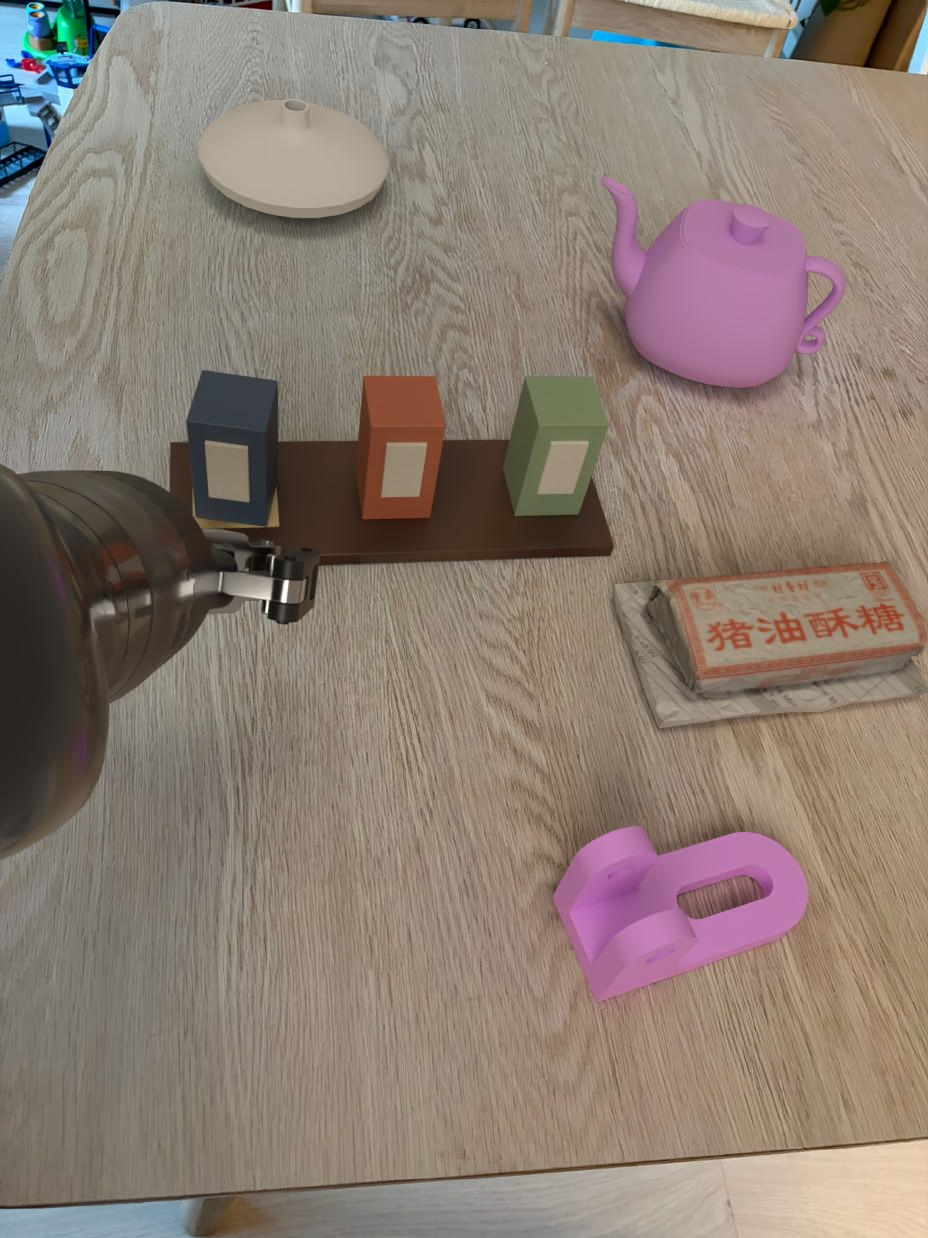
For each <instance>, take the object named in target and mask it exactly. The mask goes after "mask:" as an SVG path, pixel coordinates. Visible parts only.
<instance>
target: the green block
mask: <svg viewBox="0 0 928 1238" xmlns="http://www.w3.org/2000/svg"><path fill="white" fill-rule="evenodd" d="M521 387H522V388H521V391H520V395H519V399H518V402H517V408H516V412H515V417H514V420H513V424H512V428H511V433H510V437H509V440H510V441H509V445H508V449H507V453H506V458H505V462H504V466H503V470H504V474H505V478H506V482H507V486H508V490H509V494H510V498H511V502H512V506H513V510H514V514H515V516H535V515H577V514H579V512H580V509H581V506H582V503H583V500H584V497H585V494H586V491H587V488H588V485H589V482H590V480H591V477H592V478H593V474H594V470H595V468H596V465H597V462H598V459H599V456H600V452H601V450H602V448H603V447H602V446H603V444H604V441H605V438H606V435H607V433H608V429H609V426H610V424H609V421H608V418H607V415H606V412H605V409H604V406H603V404H602V403H603V402H602V400H601V397H600V395H599V392H598V389H597V386H596V383H595V380H594V378H593V376H559V375H558V376H555V375H554V376H553V375H551V376H550V375H549V376H547V375H546V376H545V375H544V376H541V375H537V376H535V375H534V376H533V375H532V376H531V375H526V376H525V375H524V379H523V383H522V386H521Z"/></svg>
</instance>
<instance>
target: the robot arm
mask: <svg viewBox="0 0 928 1238" xmlns="http://www.w3.org/2000/svg"><path fill="white" fill-rule="evenodd" d="M208 544H213V546H214V549H213V548H210V547H209V545H208ZM312 550H313V548H310V547H301V549H292V550H290V551H288V552H287V551H284V550H281V546H280V545H275V540H268V539H258V540H256V541H255V542H249V539H248V537H247V536H246V535H245V534H243V533H238V532H233V531H228V530H223V529H206V528H200V526H199V524H198V523H197V521H196V520H195V518H194V517H193V515H192V514H191V513H190V511H189V510H188V509H187V508H186V507H185V506H184V505H183V504H182V503H181V502H180V501H179V500H178V499H177V498H176V497H175V496H174V495H172V494H171V493H170V491H169V490H168V489H166V488H164V487H163V486H161V485H159V484H158V483H155V482H154V481H151V480H150V479H147V478H144V477H142V476H139V475H136V474H132V473H128V472H123V471H117V470H116V471H115V470H36V471H35V470H34V471H27V472H23V473H17V472H15V471H14V469H11V468H10V467H8V466H6V465H4V464H2V463H0V862H2V861H3V860H6V859H8V858H10V857H12V856H14V855H16V854H19V853H20V852H22V851H24V850H26V849H28V848H29V847H31V846H33V845H35V844H37V843H39V842H40V841H42V840H44V839H45V838H47V837H49V836H50V835H51V834H53V833H55V832H56V831H57V830H58V829H60V828H61V827H62V826H63V825H65V824H66V823H68V822H69V821H70V820H71V819H73V818H74V816H75V815H76V814H77V813H78V812H80V810H81V809H82V808H83V807H84V806H85V805H86V803H87V802H88V801H89V799H90V797H91V796H92V794H93V792H94V790H95V789H96V786H97V784H98V782H99V780H100V778H101V774H102V770H103V768H104V767H103V766H104V763H105V757H106V752H107V751H106V750H107V743H108V736H109V730H110V704H113V703H115V702H116V701H118V700H120V699H122V698H123V697H125V696H126V695H128V694H129V693H130V692H132V691H133V690H135V689H136V688H138V687H139V686H140V685H141V684H143V683H144V682H145V681H146V680H148V678H150V677H151V676H153V674H154V673H156V672H157V671H158V670H159V669H160V668H162V667H163V666H164V665H165V664H166V663H167V662H169V661H170V659H171V658H173V657H174V656H175V655H176V654H178V653H179V652H180V651H181V650H182V649H183V648H184V647H185V646H186V645H187V644H189V642H190V641H191V640H192V639H193V637H194V636H195V634H197V632H198V630H199V629H200V628H201V626H202V624H203V622H204V621H205V619H206V617H207V616H208V615H216V614H217V615H218V614H220V615H221V614H235V613H237V612H238V611H240V609H241V608H242V606H243V604H244V603H246V602H258V603H261V608H260V613H261V614H263V615H266V616H267V619H268V620H269V621H274V622H275V623H276V624H277V625H284V626H285V625H287V626H288V625H289V624H290V623H291V624H292V623H298V622H299V621H300V620H302V619H303V618H304V617H305V616H306V615H307V614H308V613H309V612H310V611H311V610H312V609H313V608H315V601H316V594H317V593H316V592H317V585H318V577H319V569H320V565H319V561H320V552H317V551H312ZM249 557H250V560H249V568H248V570H246V568H245V567H246V561H247V559H248V558H249Z"/></svg>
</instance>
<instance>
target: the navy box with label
mask: <svg viewBox="0 0 928 1238" xmlns="http://www.w3.org/2000/svg"><path fill="white" fill-rule="evenodd" d="M185 423H186V433H187V442H188V445H189V455H190V465H191V475H192V486H193V496H194V506H195V516H196V518H204V519H211V520H219V521H226V522H234V523H242V524H249V525H257V526H264V527H267V525H268V521H269V516H270V512H271V507H272V503H273V499H274V494H275V490H276V485H277V481H278V441H279V380H277V379H269V378H262V377H256V376H249V375H241V374H234V373H227V372H221V371H214V370H208V369H207V370H206V369H202V370H201V373H200V376H199V378H198V382H197V385H196V388H195V392H194V394H193V396H192V401H191V404H190V407H189V411H188V413H187V417H186V420H185Z"/></svg>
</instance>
